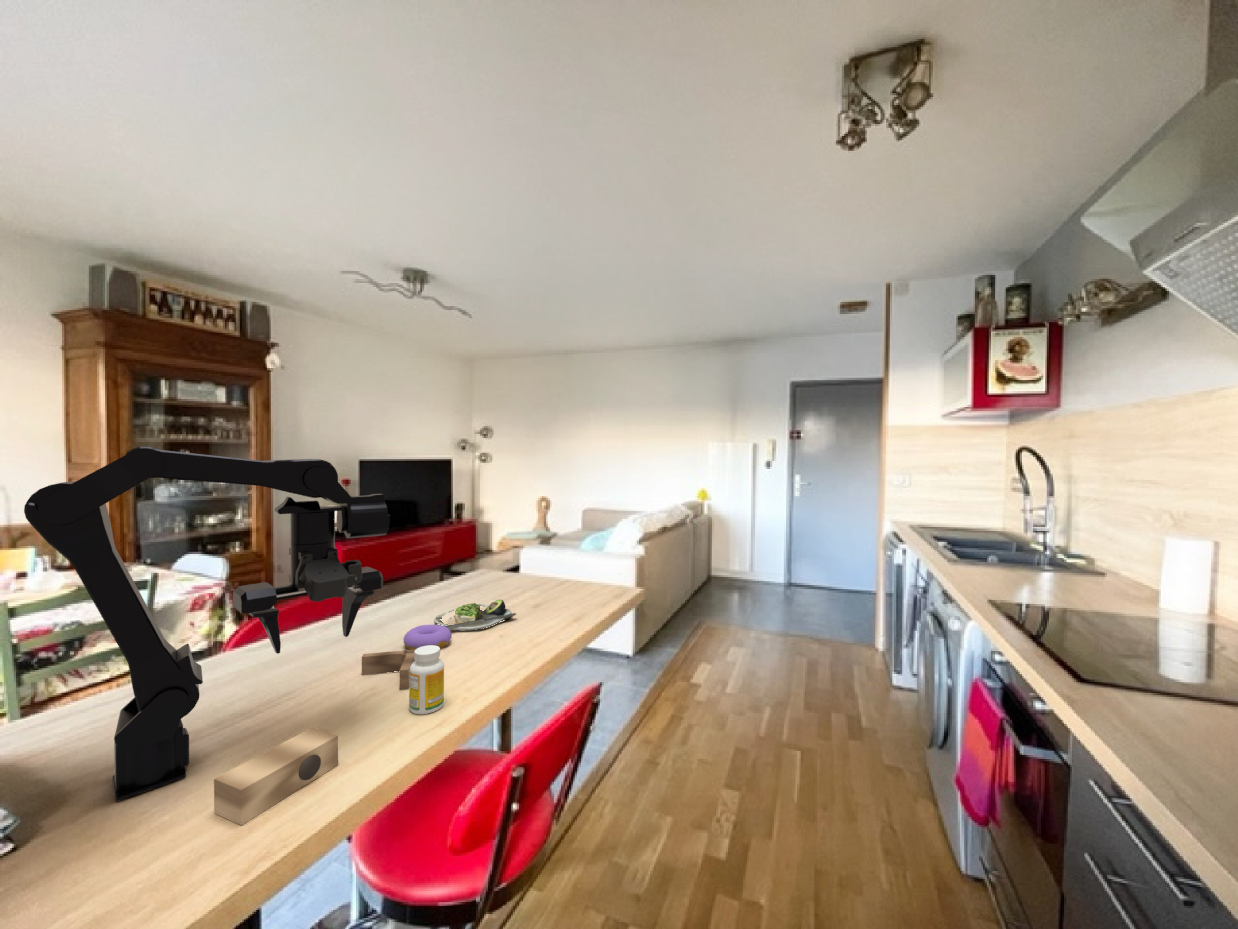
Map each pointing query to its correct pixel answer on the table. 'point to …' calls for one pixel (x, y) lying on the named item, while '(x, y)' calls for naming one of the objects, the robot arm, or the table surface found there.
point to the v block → (389, 664)
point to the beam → (274, 775)
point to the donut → (427, 636)
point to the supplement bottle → (426, 681)
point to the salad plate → (477, 616)
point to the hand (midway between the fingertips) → (313, 644)
